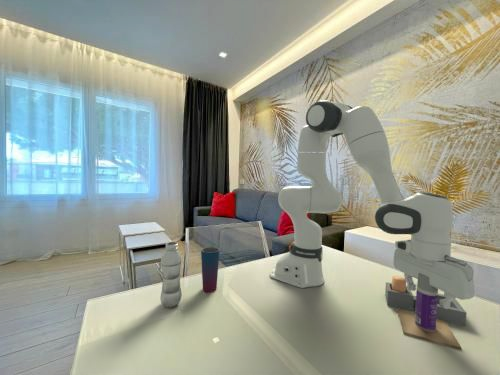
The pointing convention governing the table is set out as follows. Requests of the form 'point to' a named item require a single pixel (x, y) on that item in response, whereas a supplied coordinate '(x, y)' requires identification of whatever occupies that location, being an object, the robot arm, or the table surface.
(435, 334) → the pad
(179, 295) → the plastic bottle
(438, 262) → the robot arm
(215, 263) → the cup
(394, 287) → the peach cylinder
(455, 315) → the housing
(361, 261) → the table surface
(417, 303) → the container
